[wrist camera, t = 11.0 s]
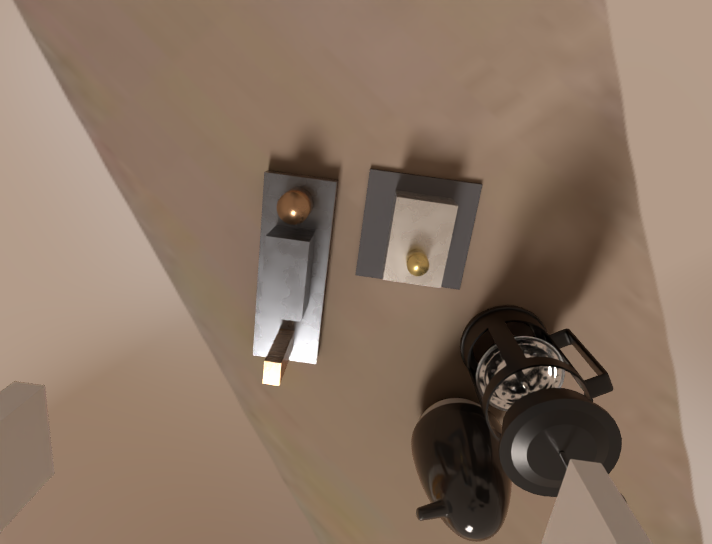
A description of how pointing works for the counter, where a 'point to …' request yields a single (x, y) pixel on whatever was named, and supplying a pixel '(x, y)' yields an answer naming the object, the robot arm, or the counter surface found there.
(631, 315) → the counter surface
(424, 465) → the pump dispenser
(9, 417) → the robot arm
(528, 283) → the counter surface
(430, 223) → the white box with knob
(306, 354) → the grey stand
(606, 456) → the french press
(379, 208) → the mat
